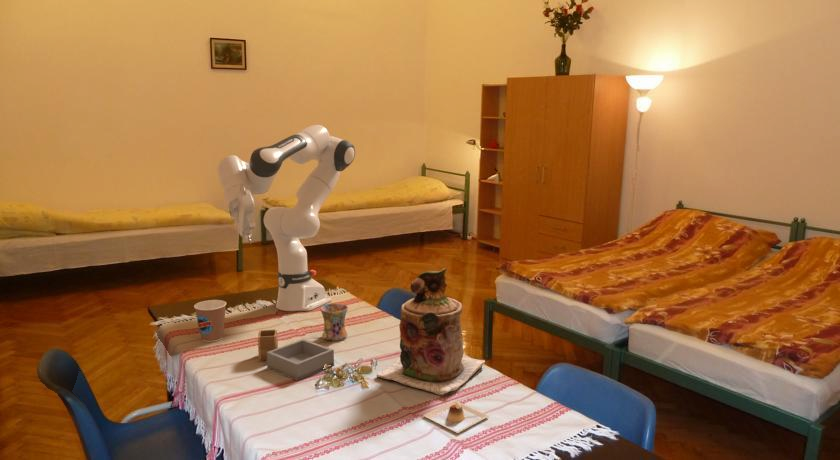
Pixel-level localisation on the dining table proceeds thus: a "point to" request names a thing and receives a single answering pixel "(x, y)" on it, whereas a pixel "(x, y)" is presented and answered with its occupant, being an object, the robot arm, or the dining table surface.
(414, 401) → the dining table surface
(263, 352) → the square wooden cup
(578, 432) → the dining table surface
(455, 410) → the dessert
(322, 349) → the grey crate
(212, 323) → the coffee cup
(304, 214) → the robot arm
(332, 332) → the mug
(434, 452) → the dining table surface
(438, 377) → the cookie jar
